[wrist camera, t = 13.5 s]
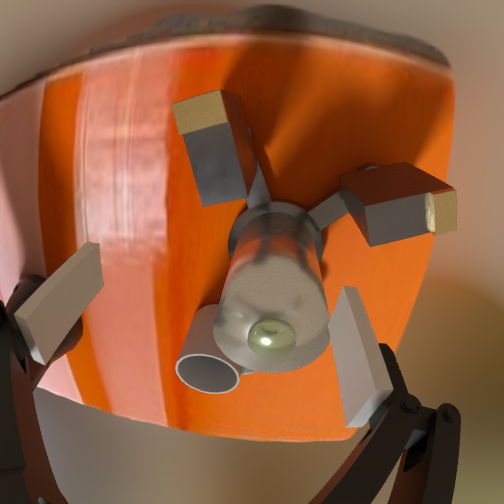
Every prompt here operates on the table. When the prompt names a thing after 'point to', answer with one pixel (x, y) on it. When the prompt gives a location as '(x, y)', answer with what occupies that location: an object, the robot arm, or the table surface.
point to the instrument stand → (276, 282)
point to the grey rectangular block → (217, 145)
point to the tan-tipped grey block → (398, 202)
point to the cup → (207, 357)
